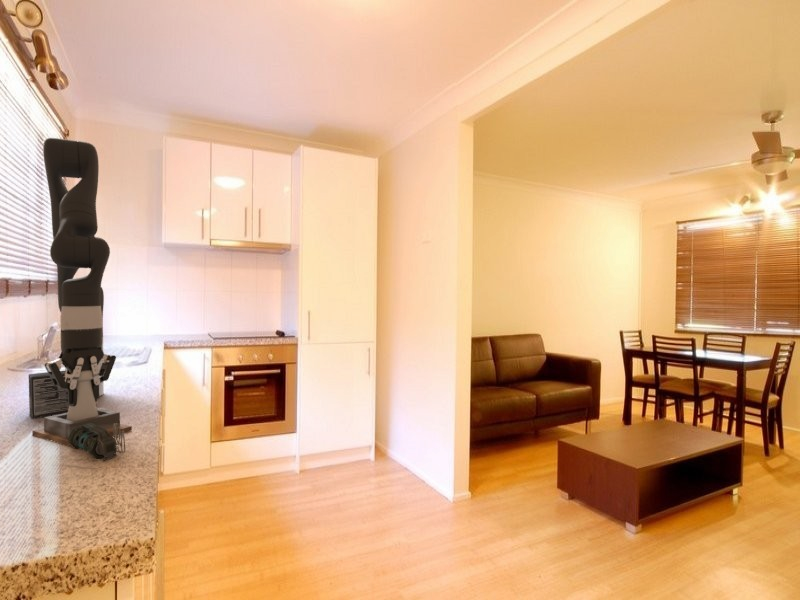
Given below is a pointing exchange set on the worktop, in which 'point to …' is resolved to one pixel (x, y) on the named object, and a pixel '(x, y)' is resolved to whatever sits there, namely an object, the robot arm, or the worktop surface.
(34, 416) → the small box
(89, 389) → the salt shaker
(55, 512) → the worktop surface
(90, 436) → the stun grenade
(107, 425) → the socket board
